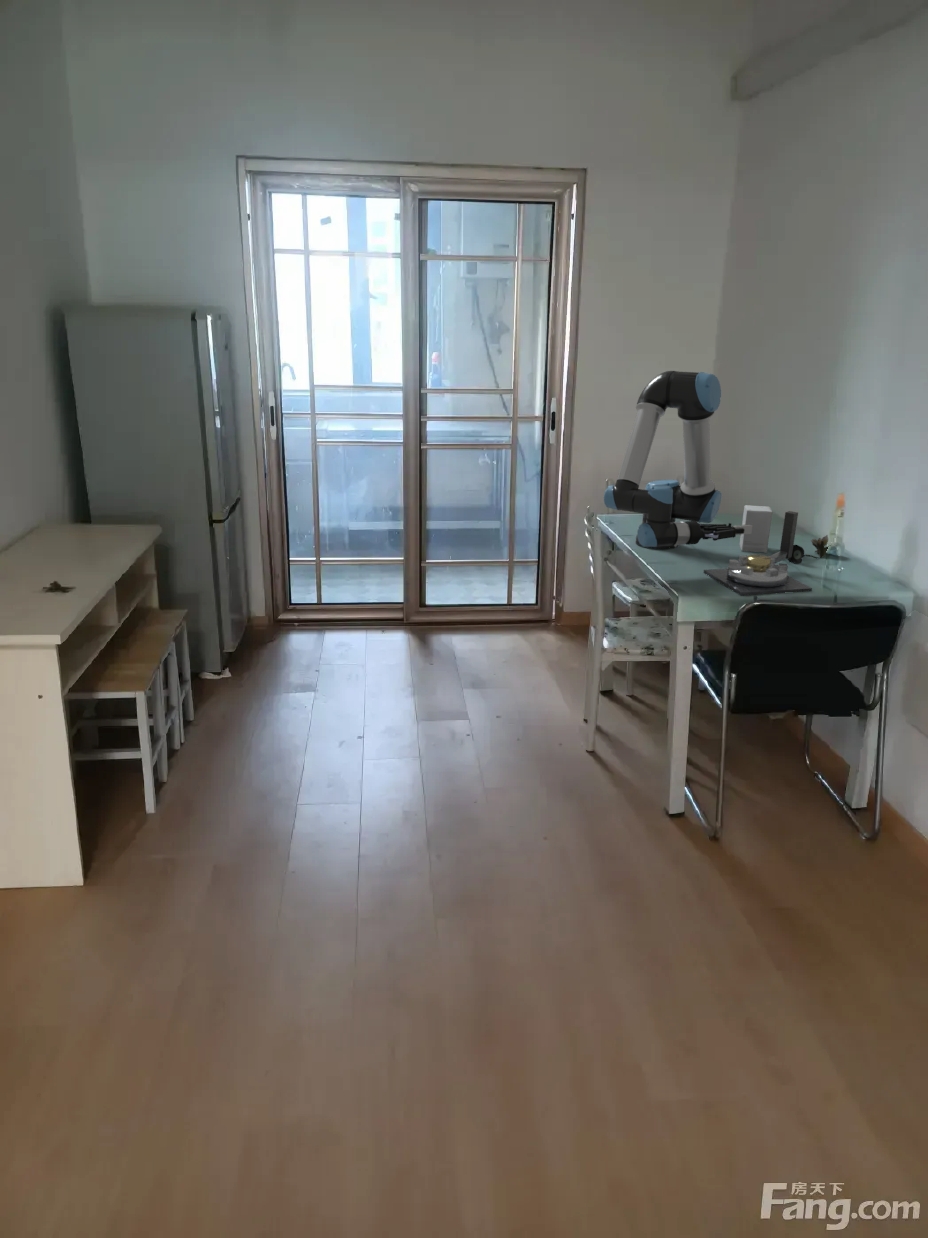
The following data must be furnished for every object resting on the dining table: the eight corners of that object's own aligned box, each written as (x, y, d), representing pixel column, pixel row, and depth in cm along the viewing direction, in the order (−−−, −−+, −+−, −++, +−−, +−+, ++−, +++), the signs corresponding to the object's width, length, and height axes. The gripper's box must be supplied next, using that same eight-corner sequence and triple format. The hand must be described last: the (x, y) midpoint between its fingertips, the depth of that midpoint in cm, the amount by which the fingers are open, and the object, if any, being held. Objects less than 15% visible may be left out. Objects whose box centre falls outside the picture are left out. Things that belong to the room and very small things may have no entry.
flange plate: (703, 572, 290) (706, 549, 288) (769, 569, 296) (772, 545, 293) (740, 595, 268) (744, 570, 266) (811, 591, 274) (815, 566, 271)
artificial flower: (780, 564, 307) (780, 535, 306) (822, 563, 318) (822, 535, 318) (802, 563, 299) (801, 534, 298) (844, 562, 310) (844, 534, 310)
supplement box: (767, 553, 314) (773, 511, 309) (741, 551, 316) (746, 510, 311) (764, 546, 323) (770, 506, 317) (739, 544, 324) (744, 504, 319)
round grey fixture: (770, 590, 270) (778, 532, 263) (716, 577, 281) (723, 522, 275) (812, 570, 290) (820, 516, 284) (760, 559, 302) (767, 507, 296)
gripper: (674, 539, 294) (738, 535, 299) (693, 549, 282) (759, 545, 287) (676, 516, 291) (741, 513, 296) (695, 526, 279) (762, 523, 284)
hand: (750, 529), depth 292 cm, fingers closed
